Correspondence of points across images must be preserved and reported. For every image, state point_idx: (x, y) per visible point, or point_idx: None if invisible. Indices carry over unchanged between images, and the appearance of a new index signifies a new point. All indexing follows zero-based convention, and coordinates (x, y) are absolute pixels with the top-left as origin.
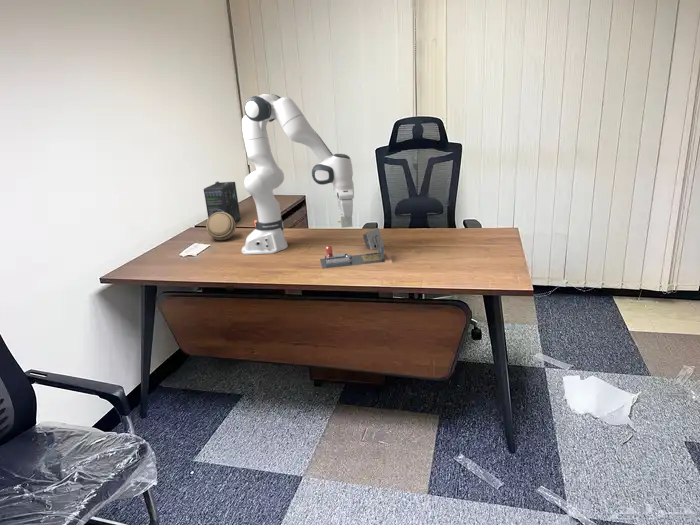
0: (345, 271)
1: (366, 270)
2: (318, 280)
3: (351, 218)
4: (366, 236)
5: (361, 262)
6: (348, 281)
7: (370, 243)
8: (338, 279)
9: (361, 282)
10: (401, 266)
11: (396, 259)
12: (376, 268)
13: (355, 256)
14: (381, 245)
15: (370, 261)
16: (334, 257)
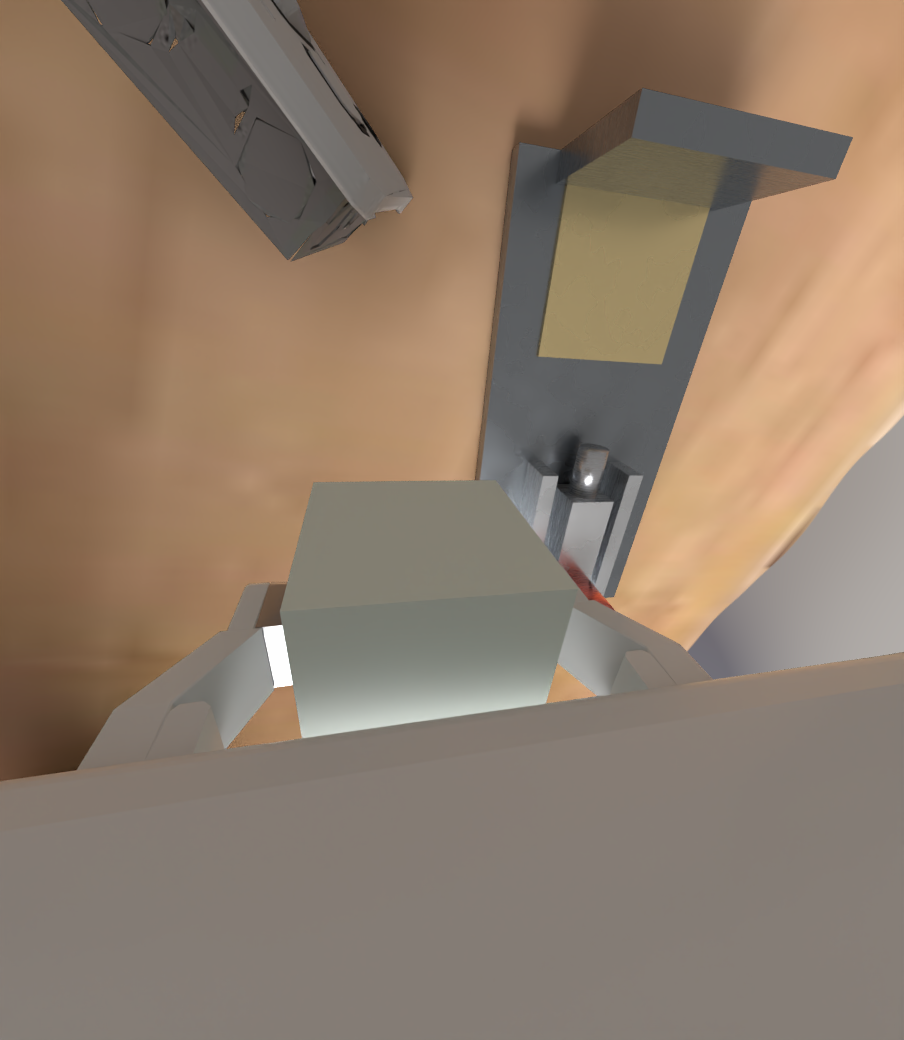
0: (679, 491)
1: (744, 375)
2: (697, 602)
3: (548, 560)
4: (341, 214)
5: (654, 385)
6: (795, 492)
7: (404, 194)
8: (744, 530)
9: (850, 437)
10: (870, 59)
11: (715, 12)
12: (761, 299)
13: (520, 402)
14: (795, 146)
15: (675, 314)
16: (592, 559)
